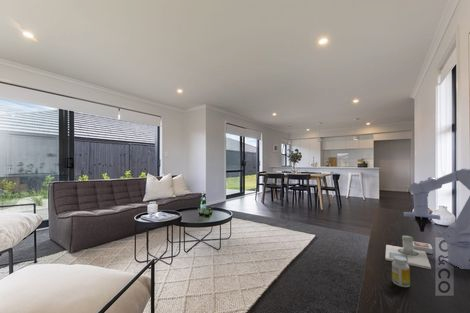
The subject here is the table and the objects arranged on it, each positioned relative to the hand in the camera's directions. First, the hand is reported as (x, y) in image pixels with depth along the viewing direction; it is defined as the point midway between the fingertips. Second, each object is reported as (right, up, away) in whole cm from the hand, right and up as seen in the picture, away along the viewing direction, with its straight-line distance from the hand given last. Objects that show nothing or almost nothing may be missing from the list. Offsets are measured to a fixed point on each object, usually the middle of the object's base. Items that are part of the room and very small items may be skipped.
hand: (421, 231), depth 112 cm
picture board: (-16, -9, -9) cm, 20 cm away
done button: (-1, -8, -1) cm, 8 cm away
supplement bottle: (-36, -9, -32) cm, 49 cm away
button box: (-1, -9, -1) cm, 9 cm away
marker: (-12, -8, -6) cm, 16 cm away
